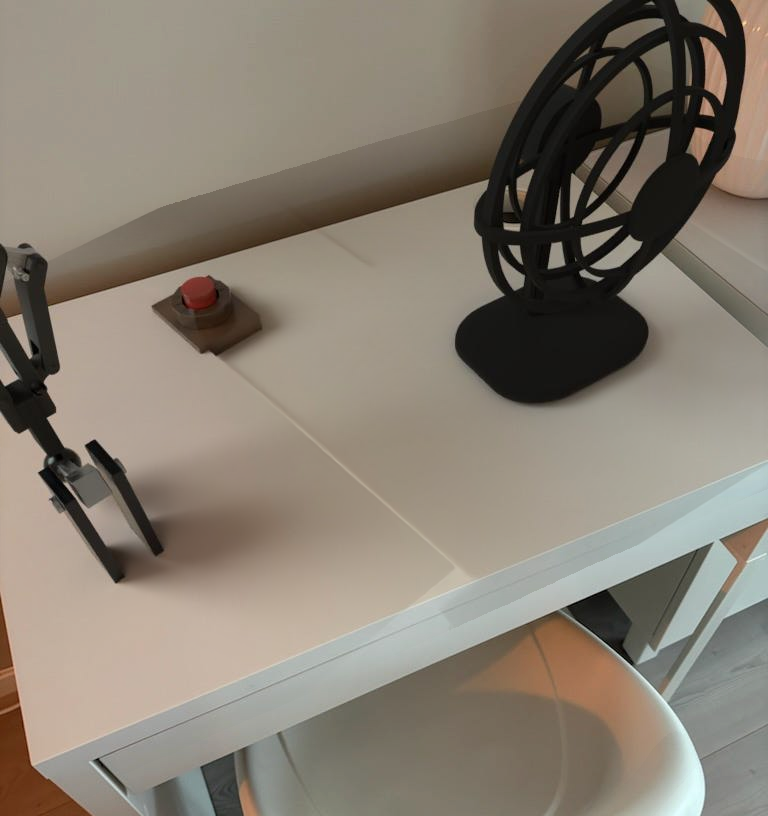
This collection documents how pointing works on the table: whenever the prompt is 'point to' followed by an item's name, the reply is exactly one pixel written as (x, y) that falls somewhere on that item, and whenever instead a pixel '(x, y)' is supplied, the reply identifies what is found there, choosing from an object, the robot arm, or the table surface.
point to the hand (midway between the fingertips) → (50, 444)
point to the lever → (79, 477)
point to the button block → (210, 320)
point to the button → (199, 293)
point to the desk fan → (553, 165)
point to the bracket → (124, 498)
